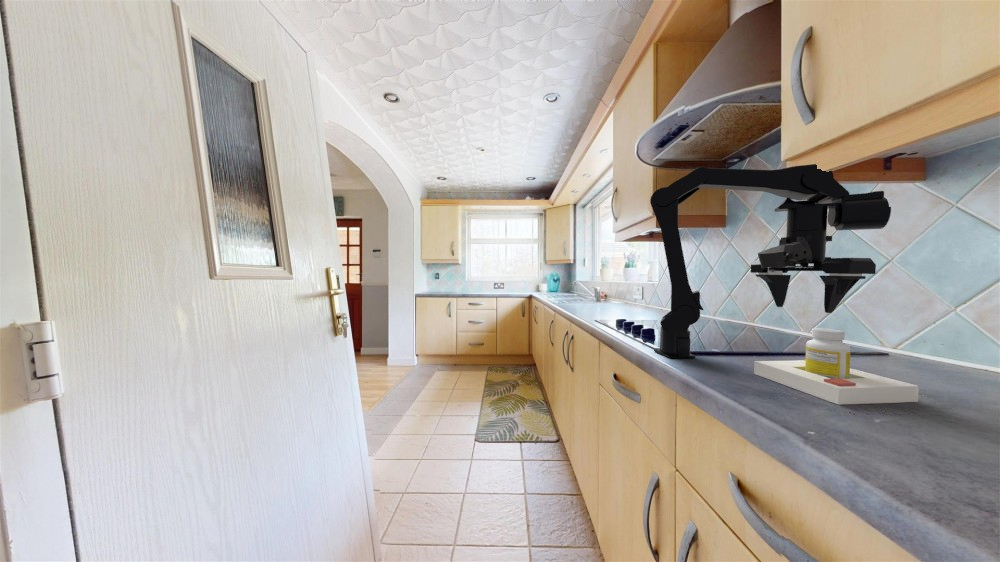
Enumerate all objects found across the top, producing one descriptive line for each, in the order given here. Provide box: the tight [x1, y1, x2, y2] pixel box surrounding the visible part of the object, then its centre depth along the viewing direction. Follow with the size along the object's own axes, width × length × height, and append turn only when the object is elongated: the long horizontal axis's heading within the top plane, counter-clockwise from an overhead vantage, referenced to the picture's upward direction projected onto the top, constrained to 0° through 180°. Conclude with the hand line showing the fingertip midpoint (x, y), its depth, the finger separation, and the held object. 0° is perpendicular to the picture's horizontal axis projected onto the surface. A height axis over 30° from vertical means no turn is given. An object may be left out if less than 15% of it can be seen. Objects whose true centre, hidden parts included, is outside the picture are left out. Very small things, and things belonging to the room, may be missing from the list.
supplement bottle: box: [804, 327, 851, 379], centre depth 55 cm, size 5×5×10 cm
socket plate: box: [753, 359, 920, 406], centre depth 55 cm, size 14×14×3 cm
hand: (802, 309), depth 63 cm, fingers open, 9 cm apart
